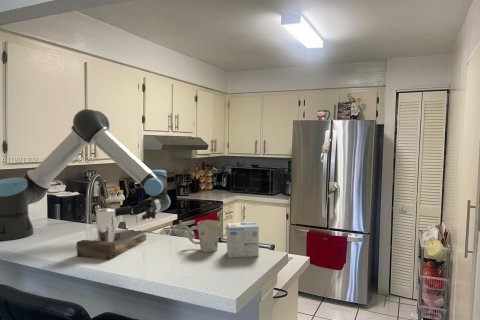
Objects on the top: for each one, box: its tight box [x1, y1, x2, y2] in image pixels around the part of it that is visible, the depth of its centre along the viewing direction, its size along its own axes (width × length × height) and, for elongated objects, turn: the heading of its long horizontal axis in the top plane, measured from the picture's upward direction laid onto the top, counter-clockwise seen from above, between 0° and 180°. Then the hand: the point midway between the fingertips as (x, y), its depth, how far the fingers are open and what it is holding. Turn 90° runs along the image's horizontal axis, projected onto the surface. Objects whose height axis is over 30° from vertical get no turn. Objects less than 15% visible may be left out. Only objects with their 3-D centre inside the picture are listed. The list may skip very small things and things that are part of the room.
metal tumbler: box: [95, 207, 118, 242], centre depth 127 cm, size 7×7×15 cm
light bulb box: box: [226, 221, 260, 259], centre depth 125 cm, size 11×7×11 cm, turn 100°
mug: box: [187, 219, 221, 253], centre depth 130 cm, size 8×13×10 cm, turn 78°
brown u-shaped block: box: [76, 232, 147, 261], centre depth 132 cm, size 24×13×5 cm, turn 166°
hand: (120, 217), depth 136 cm, fingers open, 13 cm apart
